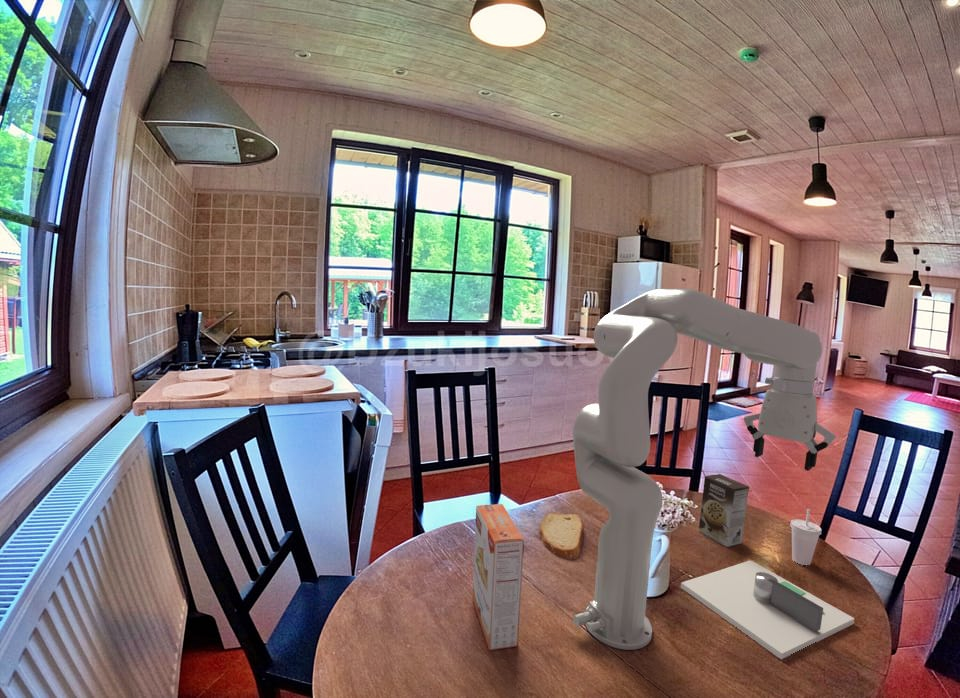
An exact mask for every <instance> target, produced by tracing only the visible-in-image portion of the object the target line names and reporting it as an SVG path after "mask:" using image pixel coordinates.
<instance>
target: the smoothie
mask: <svg viewBox="0 0 960 698" xmlns="http://www.w3.org/2000/svg"><path fill="white" fill-rule="evenodd" d="M810 514H811V509H809V508H807V510H806V515H805V516H806V517H805V520H804V519H798V518H797V519H795V518H794V519H792V520H790V527H791V560H792V561H793V562H794V561H795V562H796V563H795V562H794V563H795V564H797V563H798V564H797V565H799V564H801V565H800V566H803V565H806V566H805V567H808V566H807V565H809V566H811V563H812V560H813V556H814V553H815V550H816V547H817V543H818V540H819V537H820V535H822V528H821V527H820V526H819V525H818V524H816V523H814V522H811V521H810V520H809V519H810Z"/></svg>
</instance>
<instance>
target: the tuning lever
mask: <svg viewBox="0 0 960 698" xmlns="http://www.w3.org/2000/svg"><path fill="white" fill-rule="evenodd" d="M753 595H754V597H755V598H756V599H758V600H759V601H761V602H764V603H767V604H772V605H773V606H775V607H777V608H778V609H780V610H781V611H783V612H785V613H786V614H788V615H789V616H791V617H793V618H794V619H796V620H797V621H799V622H801V623H802V624H804V625H805V626H807V627H809V628H810V629H812V630H813V631H815V632H816V631H819V630H820V628H821V621H822V614H823V608H822V607H821V606H819V605H817V604H815V603H814V602H812V601H810V600H808V599H807V598H805V597H803V596H801V595H800V594H798V593H796V592H794V591H793V590H791V589H789V588H787V587H786V586H784V585H782V584H780V583H779V582H778V580H777V579H776V578H775V577H774V576H772V575H770V574H768V573H764V572H757V573H756V576H755V584H754V592H753Z"/></svg>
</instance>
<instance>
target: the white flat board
mask: <svg viewBox="0 0 960 698" xmlns="http://www.w3.org/2000/svg"><path fill="white" fill-rule="evenodd" d="M757 572H764V573H768V574H770V575H772V576H774V577H775V578H776V579H777V580H778V582H779V583H780V584H782V585H784V586H786V587H787V588H789V589H791V590H793V591H794V592H796V593H798V594H800V595H801V596H803V597H805V598H807V599H808V600H810V601H812V602H814V603H815V604H817V605H819V606H821V607H822V608H823V614H822V621H821V628H820V630H819V631H816V632H815V631H813V630H812V629H810V628H809V627H807V626H805V625H804V624H802V623H801V622H799V621H797V620H796V619H794V618H793V617H791V616H789V615H788V614H786V613H785V612H783V611H781V610H780V609H778V608H777V607H775V606H773V605H772V604H767V603H764V602H761V601H759V600H758V599H756V598H755V597H754V595H753V592H754V584H755V576H756V573H757ZM680 589H682V590H683V591H684V592H686V593H687V594H689V595H690V596H691V597H693V598H694V599H696V600H697V601H699V602H700V603H701V604H703V605H704V606H705V607H706V608H708V609H710V611H712V612H714V613H715V614H716V615H718V616H719V617H721V618H722V619H724V620H726V622H728V623H729V624H731V625H732V626H733V625H734V627H735V628H736V627H737V628H736V629H737V630H739V631H740V630H741V632H742V633H743V634H744V635H746V636H747V635H748V636H747V637H749V638H750V639H752V640H753V641H754V640H755V641H754V642H755V643H758V645H760V646H762V647H763V648H764V649H766V650H767V651H769V652H770V653H771V654H772V655H774V656H775V657H777V658H778V659H780V660H783V659H785V658H788V657H790V656H791V654H792V655H794V654H796V653H797V651H798V652H799V650H800V651H802V650H804V649H806V648H808V647H809V645H810V646H812V645H814V644H815V642H816V643H818V642H820V641H822V640H824V639H825V638H826V639H827V638H829V637H831V636H832V635H834V634H836V633H838V632H840V631H843V630H844V629H847V628H848V627H850V626H853V625H854V623H855V619H856V618H854V617H853V616H851V615H849V614H847V613H846V612H844V611H842V610H840V609H839V608H837V607H835V606H834V605H831V604H829V603H827V602H825V601H824V600H822V599H820V598H819V597H817V596H815V595H813V594H812V593H810V592H809V591H806V590H804V589H803V588H801V587H800V586H797V585H795V584H794V583H792V582H791V581H788V580H786V579H785V578H783V577H781V576H780V575H778V574H776V573H774V572H772V571H770V570H769V569H767V568H765V567H764V566H761V565H760V564H758V563H756V562H755V561H753V560H747V561H744V562H741V563H738V564H734V565H731V566H728V567H726V568H721V569H720V570H717V571H713V572H709V573H707V574H704V575H701V576H700V575H699V576H697V577H695V578H691V579H688V580H684V581H682V582H681V583H680ZM813 643H814V644H813ZM811 644H812V645H811ZM807 646H808V647H807ZM805 647H806V648H805ZM803 648H804V649H803ZM801 649H802V650H801ZM795 652H796V653H795ZM793 653H794V654H793Z"/></svg>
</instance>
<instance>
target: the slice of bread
mask: <svg viewBox="0 0 960 698" xmlns="http://www.w3.org/2000/svg"><path fill="white" fill-rule="evenodd" d="M584 528H585V527H584V525H583V520H582V519H581V516H580V515H579V514H576V513H572V514H571V513H567V514H566V513H565V514H561V513H557V512H551V511H550V512H548V513H547V514H546V515H545V516H544V517H543V519H542V520H541V522H540V525H539V532H538V533H539V534H540V540H541V542H542V544H543V545H544V547H545V548H546V550H548V551H549V552H551V553H552V554H553V555H556V556H557V557H558V558H559V557H560V558H562V559H565V560H574V559H575V560H576V559H577V558H579V555H580V554H581V551H582V547H583V546H582V544H583V538H584Z"/></svg>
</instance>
